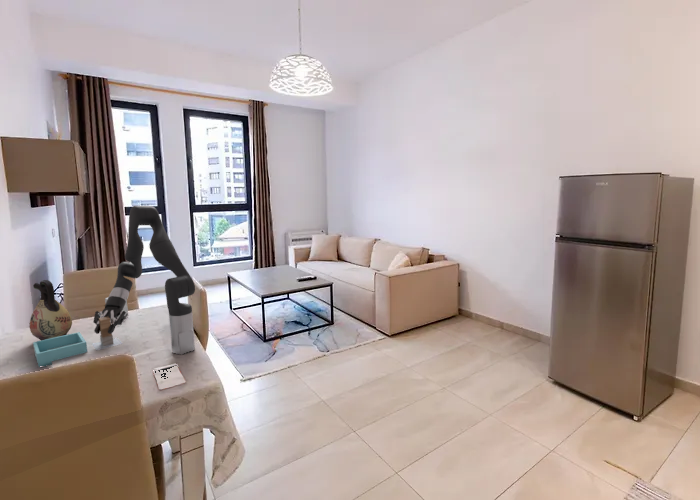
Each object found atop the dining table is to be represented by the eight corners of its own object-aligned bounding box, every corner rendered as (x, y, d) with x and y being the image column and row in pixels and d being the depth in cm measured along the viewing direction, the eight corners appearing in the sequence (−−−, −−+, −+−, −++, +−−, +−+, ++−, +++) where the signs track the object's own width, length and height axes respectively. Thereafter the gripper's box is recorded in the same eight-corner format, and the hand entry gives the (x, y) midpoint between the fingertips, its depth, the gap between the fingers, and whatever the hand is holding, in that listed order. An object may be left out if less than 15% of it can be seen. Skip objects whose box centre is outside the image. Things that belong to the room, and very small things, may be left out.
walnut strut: (113, 343, 160) (110, 318, 158) (103, 346, 157) (100, 320, 155) (111, 341, 163) (108, 316, 161) (101, 343, 160) (98, 318, 158)
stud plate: (123, 346, 160) (122, 336, 160) (96, 353, 153) (95, 342, 153) (117, 340, 167) (116, 330, 166) (92, 346, 160) (90, 336, 159)
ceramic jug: (25, 342, 165) (16, 280, 160) (64, 331, 178) (56, 273, 174) (43, 349, 157) (33, 284, 152) (82, 337, 171) (74, 277, 166)
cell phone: (159, 391, 124) (159, 389, 124) (152, 371, 139) (152, 369, 139) (186, 384, 130) (186, 381, 129) (176, 365, 144) (176, 362, 144)
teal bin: (87, 355, 152) (86, 342, 151) (38, 368, 141) (36, 353, 140) (81, 344, 163) (79, 331, 162) (35, 355, 152) (33, 342, 151)
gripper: (97, 295, 164) (81, 329, 154) (128, 295, 164) (114, 329, 154) (106, 303, 170) (91, 336, 160) (136, 302, 170) (123, 336, 160)
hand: (103, 332), depth 157 cm, fingers closed on walnut strut, 5 cm apart
